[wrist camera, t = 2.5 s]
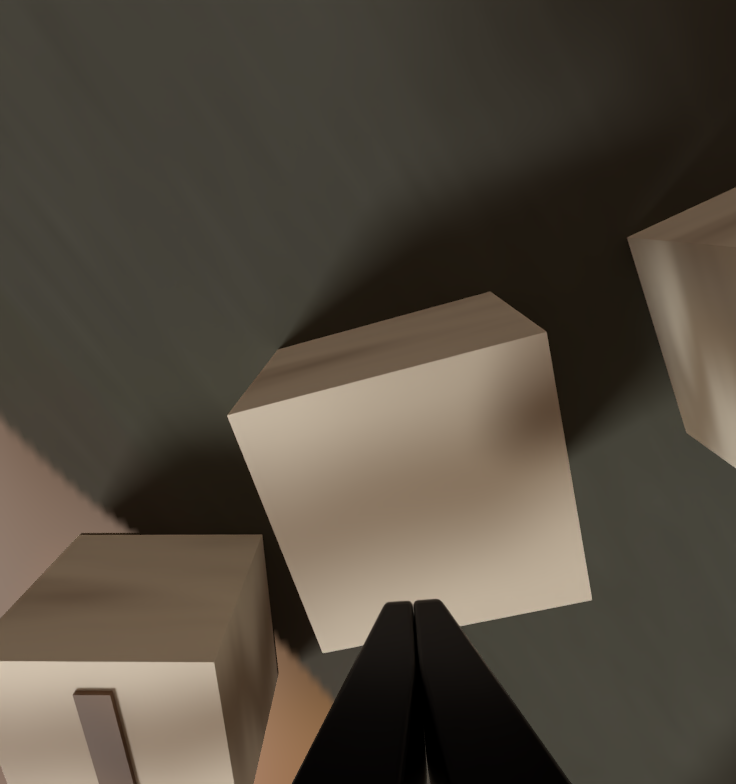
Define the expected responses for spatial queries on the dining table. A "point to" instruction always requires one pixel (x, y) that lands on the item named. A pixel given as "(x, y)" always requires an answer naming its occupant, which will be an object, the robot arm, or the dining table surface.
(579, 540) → the plain block
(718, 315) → the block
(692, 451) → the dining table surface
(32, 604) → the one-stroke block
